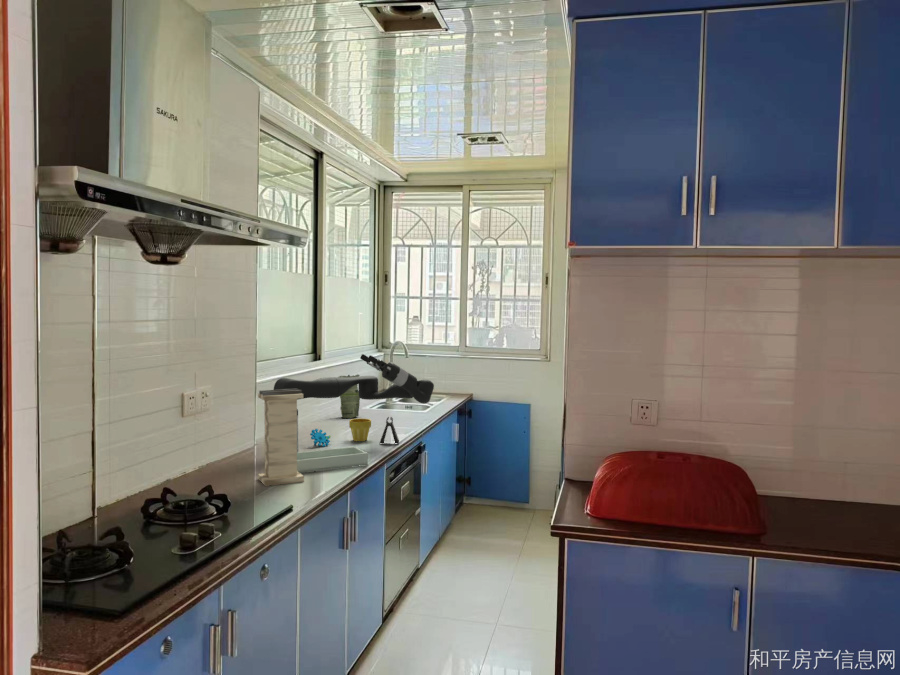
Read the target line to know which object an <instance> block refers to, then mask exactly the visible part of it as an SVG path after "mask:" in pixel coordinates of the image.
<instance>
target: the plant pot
mask: <svg viewBox="0 0 900 675" xmlns="http://www.w3.org/2000/svg"><path fill="white" fill-rule="evenodd" d="M348 425H349V428H350V430H351V436H352V441H353V440H354V442H357V441H362V442H366V441H367V440H368V436H369V434H370V433H369V432H370V428H371V427H372V419H370V418H350V420H349V424H348ZM365 440H366V441H365Z"/></svg>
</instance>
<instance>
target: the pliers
mask: <svg viewBox="0 0 900 675" xmlns="http://www.w3.org/2000/svg"><path fill="white" fill-rule="evenodd" d="M389 419H390V421H391V422H390V421H389ZM393 420H394V419H393V416H390V417H389V416H387V417H386V421H385V423H386V424H385V427H384V429H383V433H382V434H381V439H380V441H379V444H380V443H384V441H385V439H386V435H387V432H388V427H390V430H391V432H392V433H391V434H392V437H393V441H395V443H399V444H400V439H399V436H398V433H397V431H396V429H395V426H394V422H393Z"/></svg>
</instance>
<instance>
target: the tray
mask: <svg viewBox="0 0 900 675" xmlns="http://www.w3.org/2000/svg"><path fill="white" fill-rule="evenodd" d="M368 456H369V453H368V452H367V451H365V450H363V449H362V448H359V447H357V446H350V447H349V446H348V447H347V446H346V447H337V448H329V449H321V450H320V449H318V450H308V451H298V453H297V471H298V472H299V473H301V474H305V472H307V473H314V471H316V472H321V471H330V470H331V471H332V469H333V470H338V469H339V468H341V469H346V468H345V467H350V468H353V467H352V466H358V467H360V466H359V465H367V466H369V463H368V462H369V457H368ZM299 459H303V460H299Z"/></svg>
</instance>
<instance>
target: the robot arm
mask: <svg viewBox="0 0 900 675" xmlns="http://www.w3.org/2000/svg"><path fill="white" fill-rule="evenodd" d="M359 357H360V359H361V361H364V362H365V363H366V364H367V365H369V366H370V367H371V368H374V369H376V370H377V371H379V372H381V377H382V378H383V379H385V380H386V381H389V382H390V383H392V384H391V385H390V386H389V387H387V388H386V389H384V390H383V391H381V392H379V379H378V377H377V376H374V375H360V376H359V377H339V376H335V377H334V376H333V377H330V376H329V377H322V378H321V377H320V378H318V379H317V378H316V379H314V380H300V379H299V380H298V379H294V378H287V377H281V378H279V379H277V380H276V381H275V383H274V386H273V390H281V389H298V390H302V394H303V398H300V399H297V401H298V400H302V399H309V398H314V399H336V398H340V396H341V395H343V394H344V393H345V392H346V391H348V390H349V389H350V388H351V387H353V386H354V385H357V384H358V393H359V398H360V400H361V399H362V400H369V401H370V400H371V401H372V400H374V401H375V400H385V399H388V400H389V399H414V400H415V401H416V402H418V403H419V404H423V405H424V404H425V405H426V404H428V403H429V402H430V401H431V397H432V394H433V391H434V390H435V384H434V383H433V382H432V381H431V380H429V379H419V380H418V378H417V377H416V376H415V375H413V374H411V373H409V371H406V370H405V369H404V368H402V366H401V367H400V366H399V365H397V364H395V363H394V362H391V361H390V362H388V363H387V362H385V361H384V360H382V359H378V358H376V357H375V356H373V355H369V356H368V355H366V354H363V353H362V354H361V355H360V356H359ZM298 452H299V409H298V408H297V453H298Z"/></svg>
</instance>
